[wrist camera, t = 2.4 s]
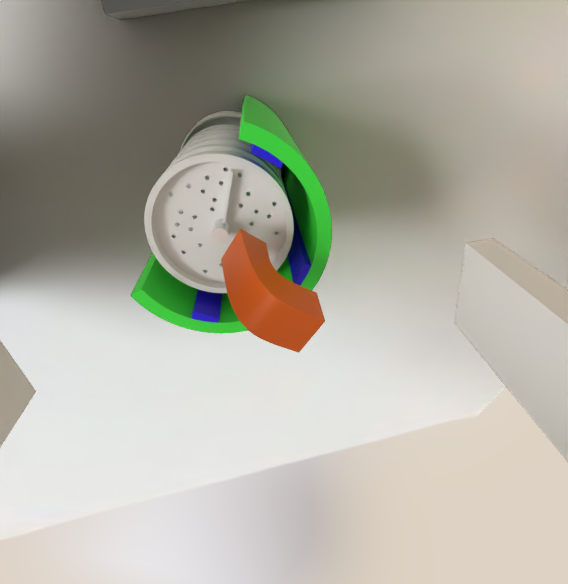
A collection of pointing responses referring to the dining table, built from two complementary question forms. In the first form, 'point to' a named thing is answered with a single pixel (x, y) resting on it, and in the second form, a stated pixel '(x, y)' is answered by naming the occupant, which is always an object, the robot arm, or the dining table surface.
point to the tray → (154, 6)
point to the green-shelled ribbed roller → (237, 232)
